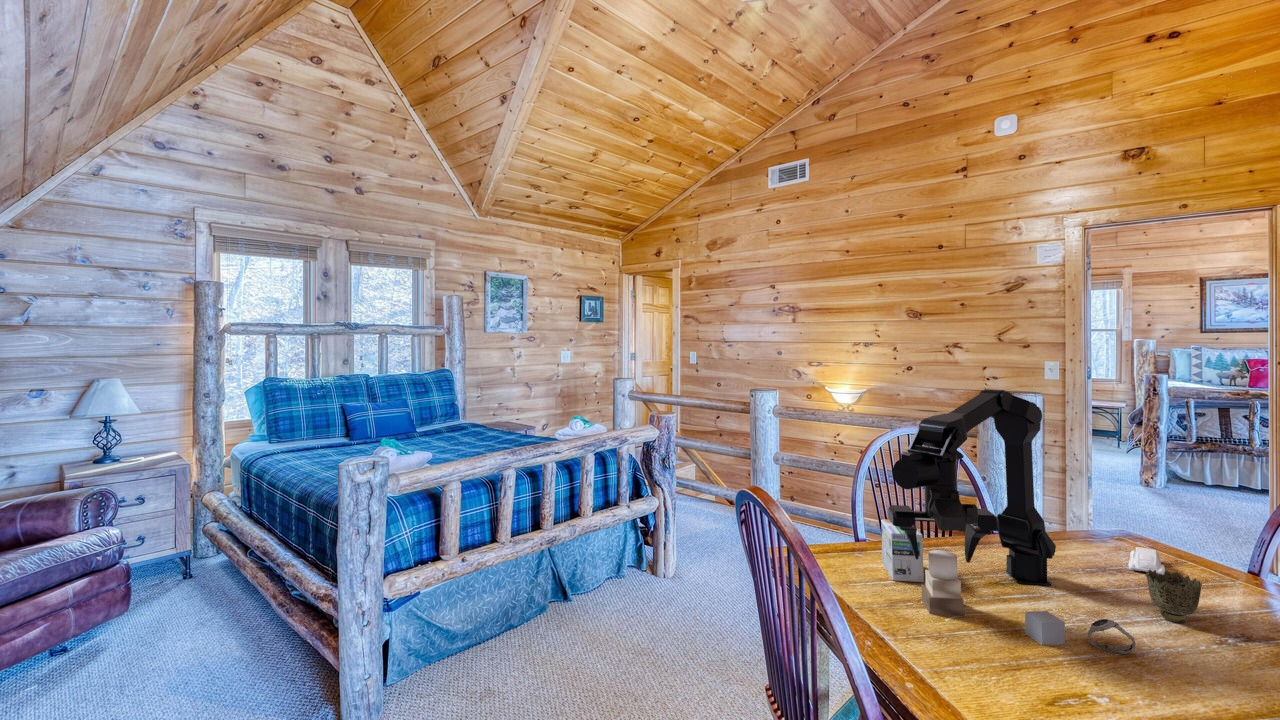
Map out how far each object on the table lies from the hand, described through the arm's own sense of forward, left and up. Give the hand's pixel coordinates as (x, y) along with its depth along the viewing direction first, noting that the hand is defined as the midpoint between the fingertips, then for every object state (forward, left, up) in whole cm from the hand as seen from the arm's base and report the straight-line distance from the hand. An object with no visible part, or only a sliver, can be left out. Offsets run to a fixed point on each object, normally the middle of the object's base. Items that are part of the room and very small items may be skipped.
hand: (941, 560), depth 109 cm
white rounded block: (-51, -30, -10) cm, 60 cm away
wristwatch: (-23, +11, -10) cm, 27 cm away
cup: (-40, -3, -10) cm, 41 cm away
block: (-14, +9, -10) cm, 19 cm away
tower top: (0, 0, -6) cm, 6 cm away
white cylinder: (0, 0, -3) cm, 3 cm away
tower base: (0, 0, -10) cm, 10 cm away
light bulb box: (+4, -17, -10) cm, 20 cm away
